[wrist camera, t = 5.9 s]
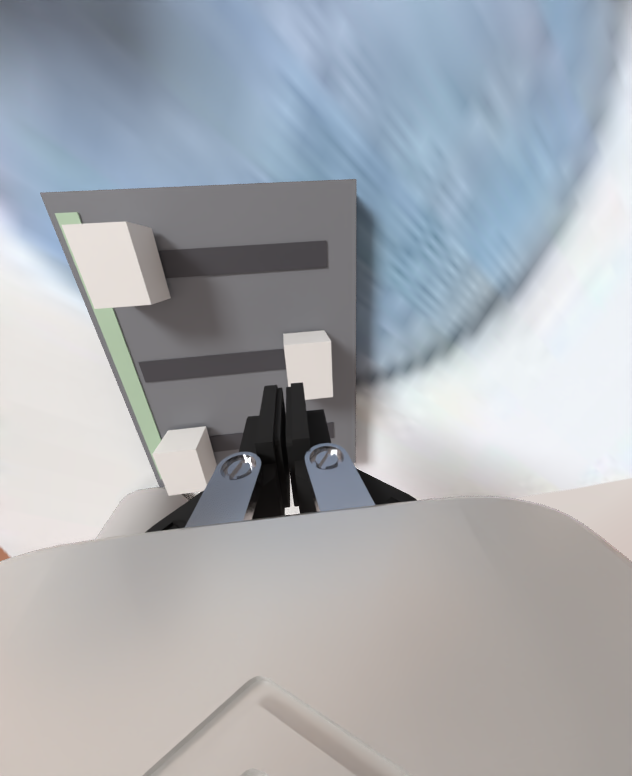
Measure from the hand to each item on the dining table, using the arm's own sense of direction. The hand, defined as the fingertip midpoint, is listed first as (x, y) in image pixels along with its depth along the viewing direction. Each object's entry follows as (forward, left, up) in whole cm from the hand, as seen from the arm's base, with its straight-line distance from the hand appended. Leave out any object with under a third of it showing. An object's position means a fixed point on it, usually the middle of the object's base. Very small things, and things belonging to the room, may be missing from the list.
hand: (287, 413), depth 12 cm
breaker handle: (-2, +1, -9) cm, 9 cm away
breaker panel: (+4, +1, -12) cm, 12 cm away
